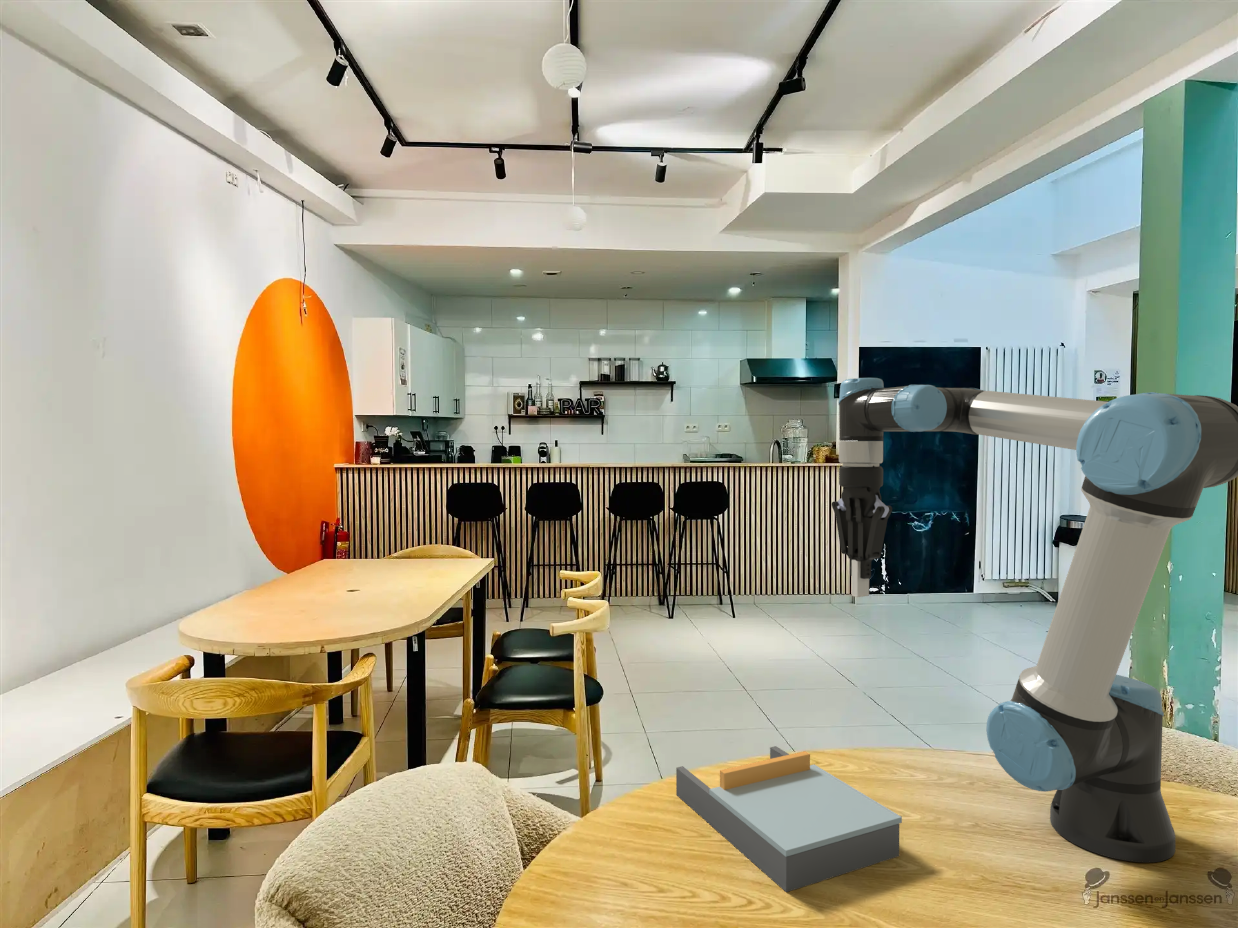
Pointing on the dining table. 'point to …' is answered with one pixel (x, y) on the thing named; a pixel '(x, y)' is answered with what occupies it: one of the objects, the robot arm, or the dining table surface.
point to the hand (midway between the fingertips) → (860, 595)
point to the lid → (798, 804)
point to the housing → (772, 862)
